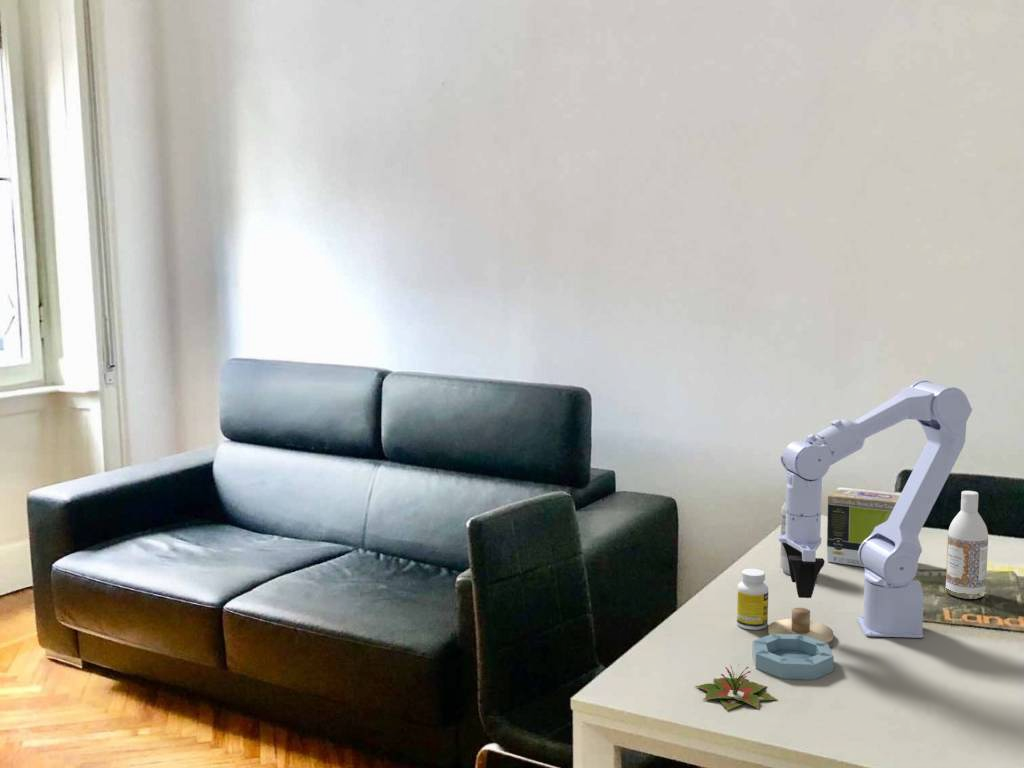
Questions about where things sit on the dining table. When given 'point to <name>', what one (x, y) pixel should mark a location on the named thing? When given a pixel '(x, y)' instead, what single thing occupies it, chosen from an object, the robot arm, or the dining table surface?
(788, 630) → the lid
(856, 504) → the tea box
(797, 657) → the bowl
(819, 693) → the dining table surface
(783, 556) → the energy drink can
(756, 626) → the supplement bottle
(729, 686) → the lily flower
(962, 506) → the bath foam
